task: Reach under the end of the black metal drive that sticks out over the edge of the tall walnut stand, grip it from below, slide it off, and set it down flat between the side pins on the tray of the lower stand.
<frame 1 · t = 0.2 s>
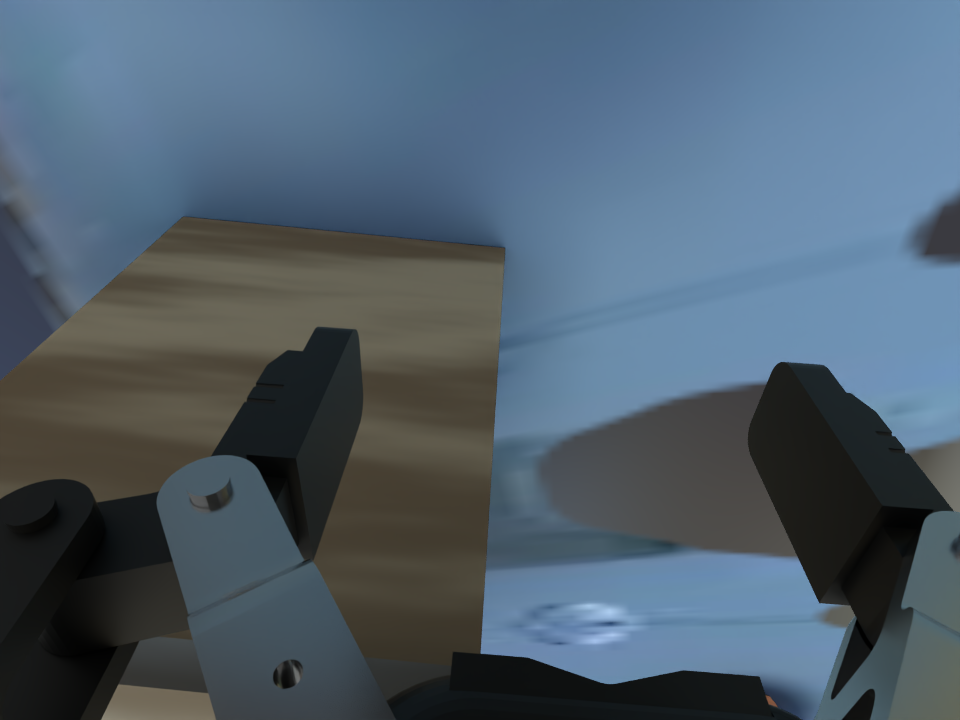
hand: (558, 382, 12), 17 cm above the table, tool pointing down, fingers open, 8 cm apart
pin tray stand: (350, 324, 32), on the table
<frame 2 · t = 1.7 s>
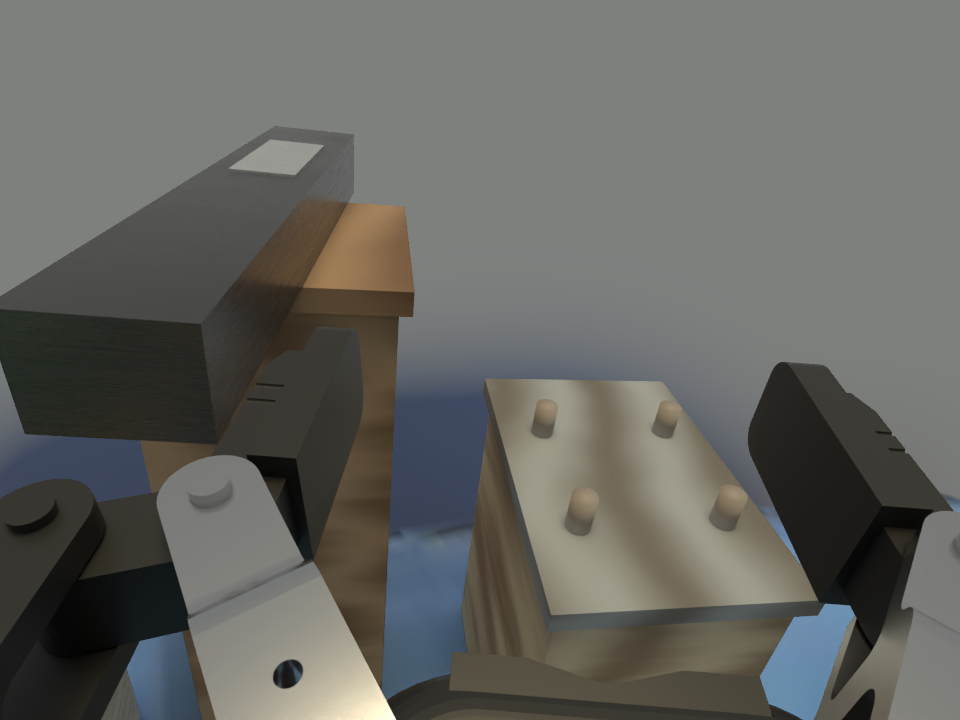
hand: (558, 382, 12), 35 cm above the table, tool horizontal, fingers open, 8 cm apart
drive: (260, 260, 22), point 32 cm above the table, touching tall stand
tall stand: (306, 679, 41), on the table
pin tray stand: (551, 703, 41), on the table
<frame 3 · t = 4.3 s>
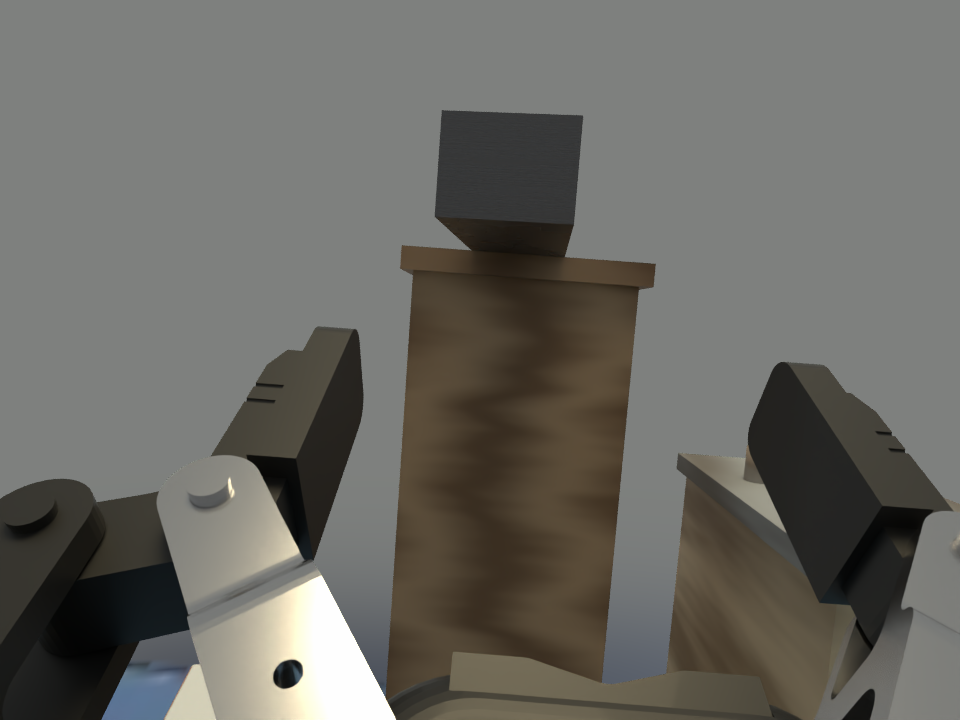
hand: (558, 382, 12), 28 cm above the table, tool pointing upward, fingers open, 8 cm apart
drive: (520, 259, 28), point 32 cm above the table, touching tall stand
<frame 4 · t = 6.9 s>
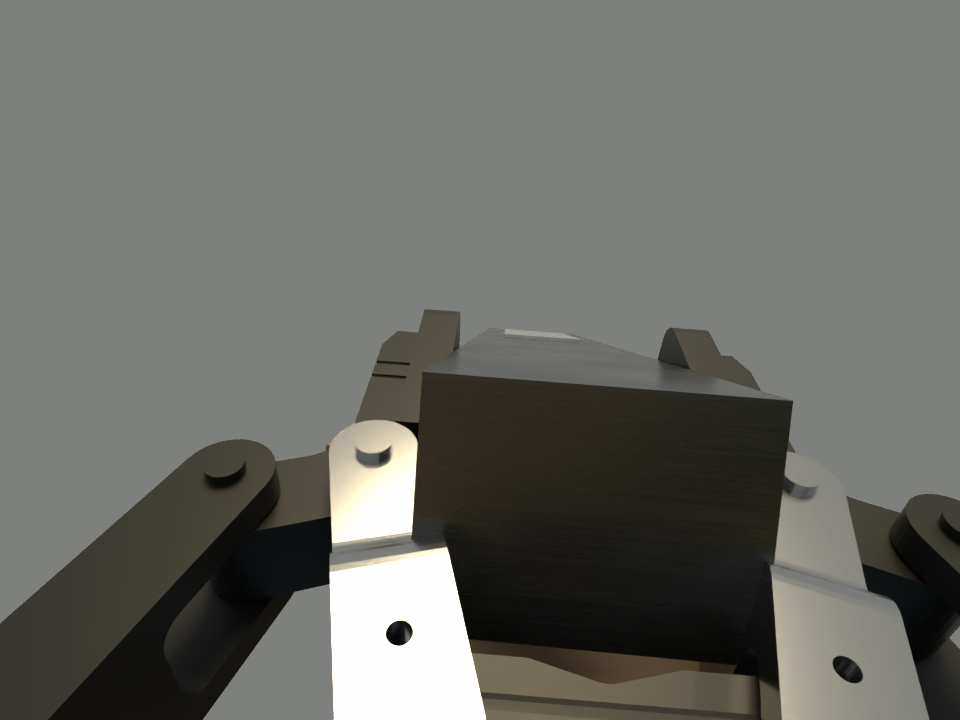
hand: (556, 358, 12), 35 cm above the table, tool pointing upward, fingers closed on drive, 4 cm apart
drive: (536, 441, 18), point 32 cm above the table, touching gripper
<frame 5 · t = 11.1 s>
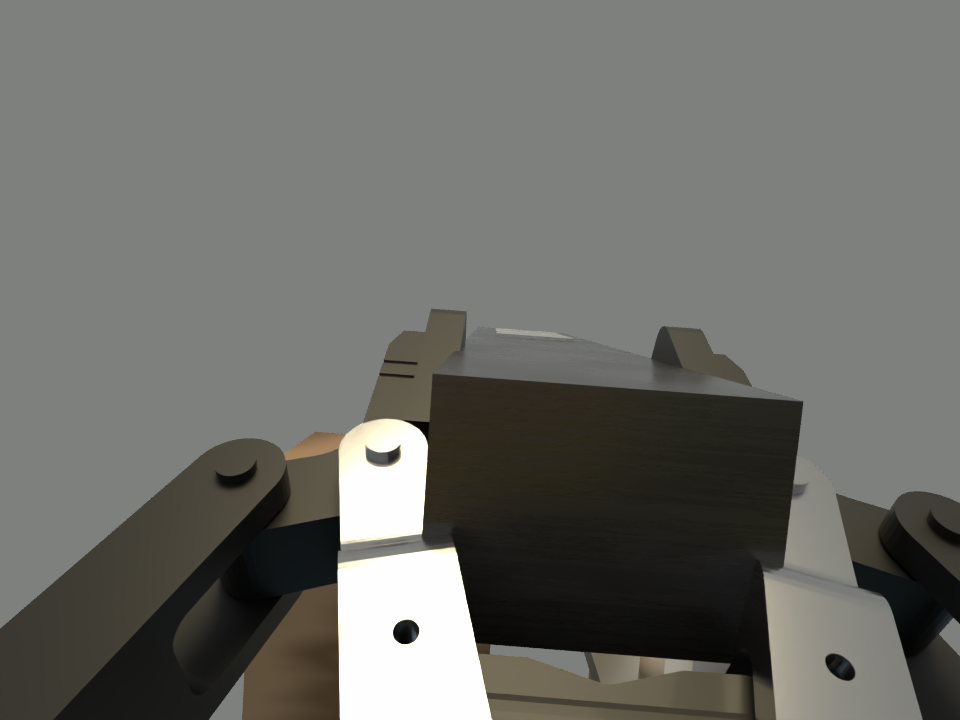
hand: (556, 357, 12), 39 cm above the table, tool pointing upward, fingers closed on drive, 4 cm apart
drive: (529, 440, 18), point 36 cm above the table, touching gripper
when the fingers open (27 cm above the table, at t = 15.2 s): drive drops 3 cm, resting on pin tray stand.
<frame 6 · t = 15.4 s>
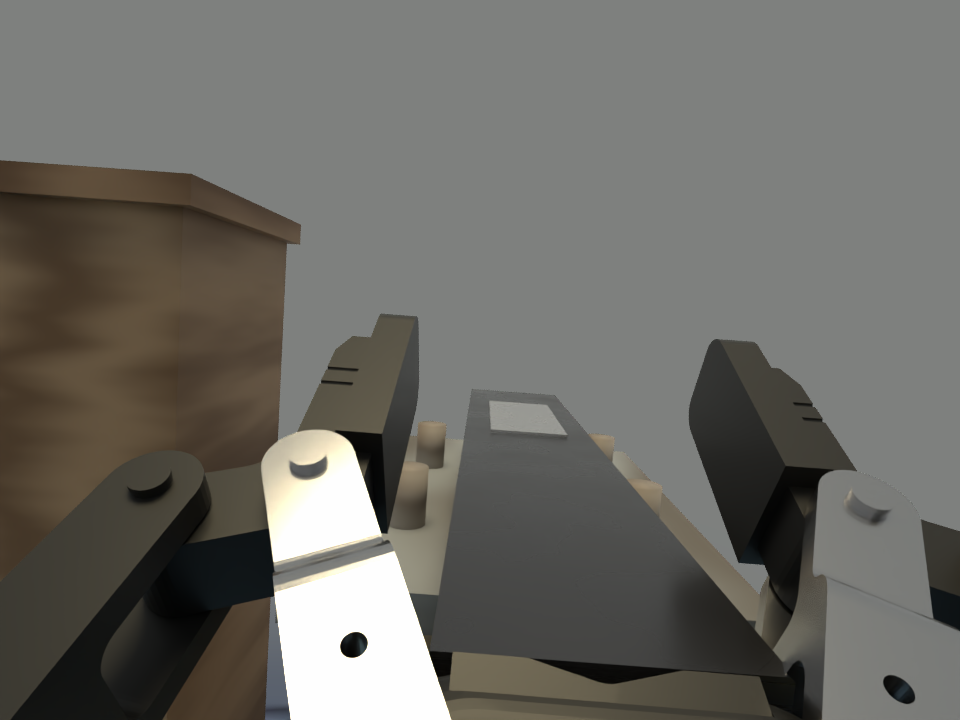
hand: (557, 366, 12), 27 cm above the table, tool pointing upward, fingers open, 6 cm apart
drive: (523, 540, 18), point 21 cm above the table, touching pin tray stand
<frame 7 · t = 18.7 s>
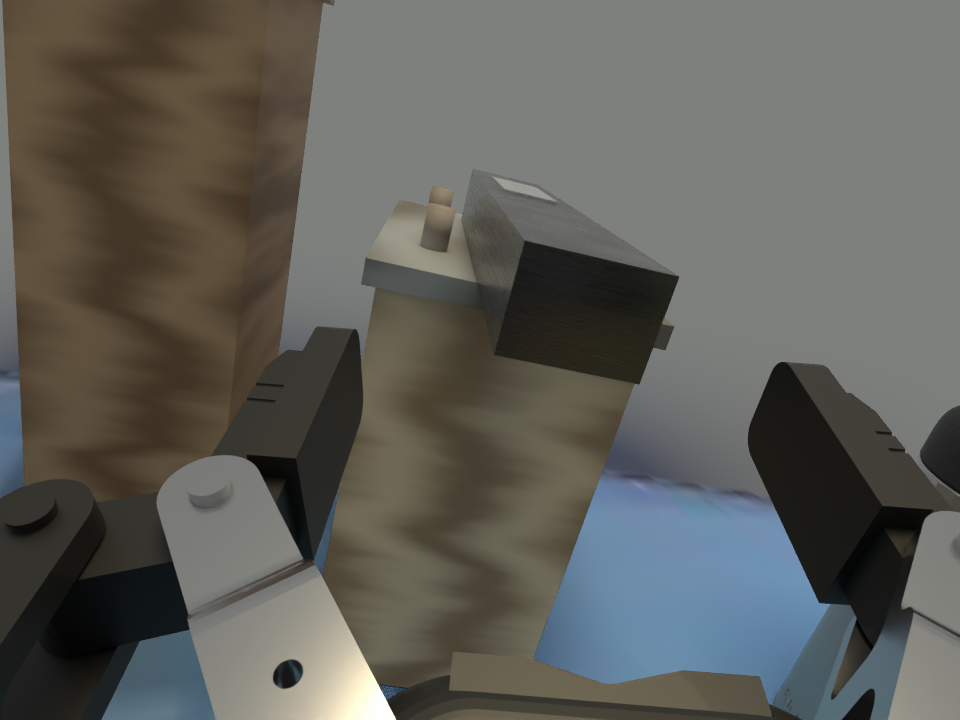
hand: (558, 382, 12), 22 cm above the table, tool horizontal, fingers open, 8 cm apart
drive: (515, 270, 25), point 21 cm above the table, touching pin tray stand
tall stand: (162, 504, 38), on the table
pin tray stand: (420, 576, 37), on the table
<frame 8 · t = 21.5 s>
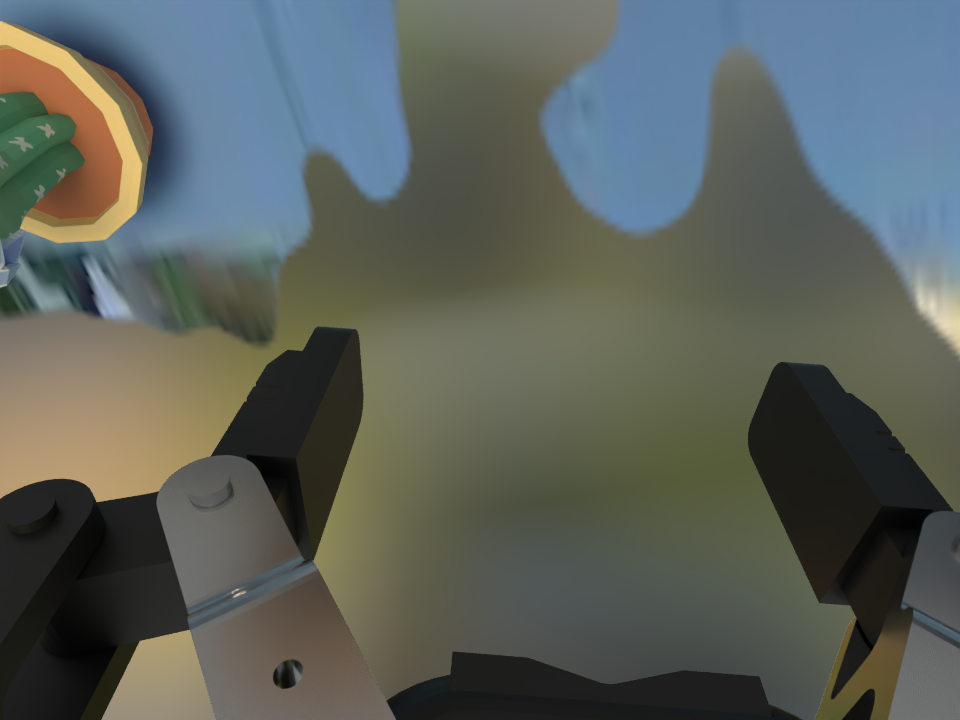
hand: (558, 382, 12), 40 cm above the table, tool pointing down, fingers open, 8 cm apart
potted cactus: (99, 117, 49), on the table
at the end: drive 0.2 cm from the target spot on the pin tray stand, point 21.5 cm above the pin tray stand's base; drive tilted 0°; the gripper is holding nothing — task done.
